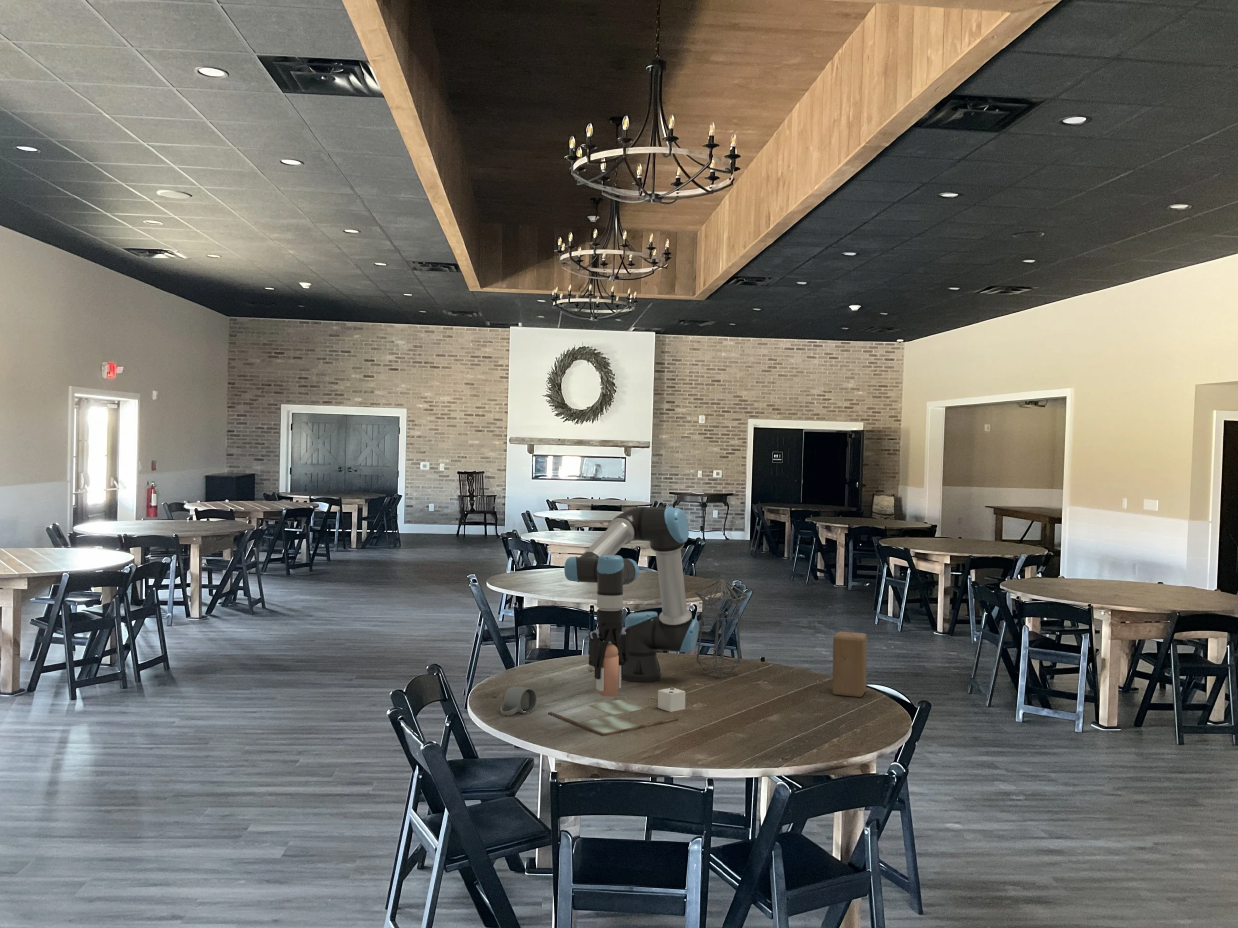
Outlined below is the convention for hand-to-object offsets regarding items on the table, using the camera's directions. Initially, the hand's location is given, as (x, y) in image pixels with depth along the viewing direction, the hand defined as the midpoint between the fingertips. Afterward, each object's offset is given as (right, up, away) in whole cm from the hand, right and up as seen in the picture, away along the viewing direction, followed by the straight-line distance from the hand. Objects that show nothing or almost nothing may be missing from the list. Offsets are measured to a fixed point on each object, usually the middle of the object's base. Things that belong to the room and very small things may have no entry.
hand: (608, 688), depth 270 cm
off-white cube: (+19, -11, +19) cm, 29 cm away
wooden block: (+81, -13, +44) cm, 93 cm away
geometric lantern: (+40, -12, +69) cm, 81 cm away
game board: (+1, -11, +10) cm, 15 cm away
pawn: (0, -2, 0) cm, 2 cm away
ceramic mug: (-28, -11, +14) cm, 33 cm away
